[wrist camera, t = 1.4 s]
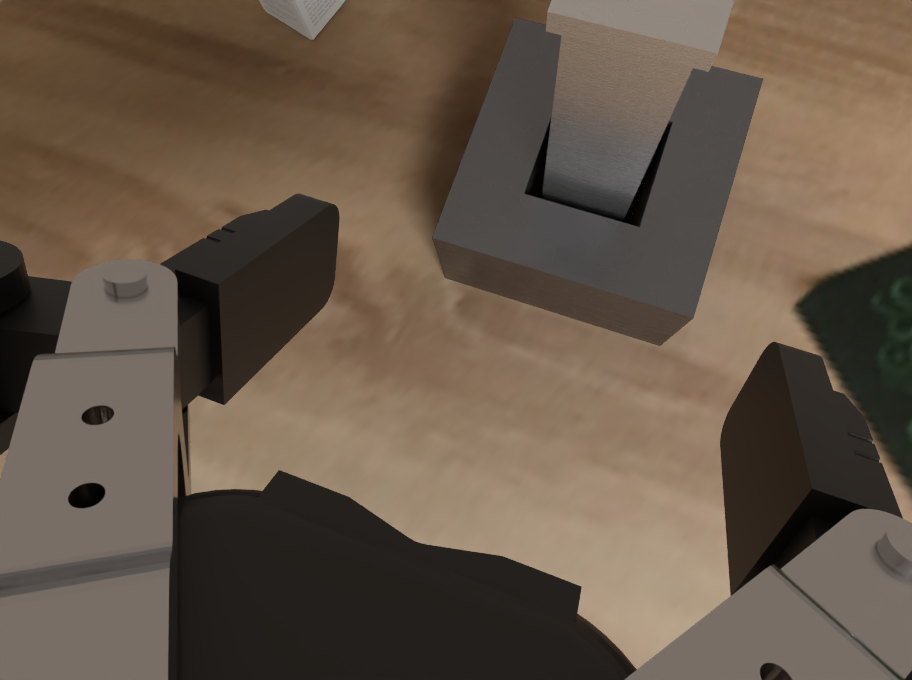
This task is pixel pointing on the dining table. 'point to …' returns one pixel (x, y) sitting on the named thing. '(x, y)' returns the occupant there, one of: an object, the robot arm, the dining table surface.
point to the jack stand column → (620, 91)
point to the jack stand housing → (582, 233)
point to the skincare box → (303, 13)
